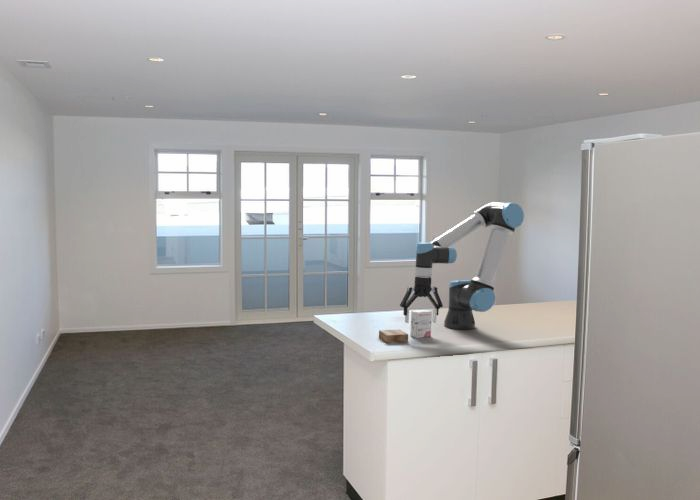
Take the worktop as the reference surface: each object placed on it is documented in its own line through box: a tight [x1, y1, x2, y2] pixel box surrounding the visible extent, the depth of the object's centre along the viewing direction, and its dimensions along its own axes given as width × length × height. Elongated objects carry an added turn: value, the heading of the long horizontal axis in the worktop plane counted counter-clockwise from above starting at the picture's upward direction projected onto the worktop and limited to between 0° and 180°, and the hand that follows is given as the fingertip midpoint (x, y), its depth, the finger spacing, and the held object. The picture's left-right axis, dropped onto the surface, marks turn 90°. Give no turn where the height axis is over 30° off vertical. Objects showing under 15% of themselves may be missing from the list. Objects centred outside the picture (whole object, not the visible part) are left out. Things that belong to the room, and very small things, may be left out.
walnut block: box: [378, 329, 409, 344], centre depth 299 cm, size 10×10×4 cm
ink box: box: [410, 309, 433, 339], centre depth 309 cm, size 9×5×12 cm, turn 122°
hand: (420, 322), depth 309 cm, fingers open, 13 cm apart
